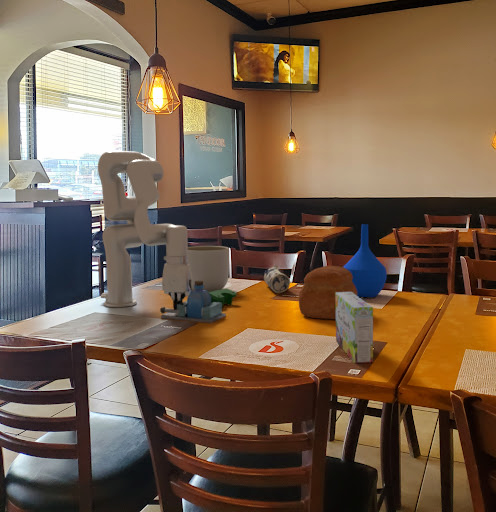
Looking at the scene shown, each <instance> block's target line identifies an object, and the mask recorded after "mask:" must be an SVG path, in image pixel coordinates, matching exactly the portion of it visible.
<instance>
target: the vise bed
mask: <svg viewBox="0 0 496 512" xmlns="http://www.w3.org/2000/svg"><path fill="white" fill-rule="evenodd" d="M222 310H223V307H222V303H219V302H213V303H211V304H208V305H206V306H204V307H202V317H192V316H188V315H187V316H177V313H167V312H165V313H162V314H161V315H160V318H161V319H167V320H175V321H176V320H177V321H189V322H196V323H197V322H198V323H208V324H209V323H210V324H213V323H214V322H216V321H218V320H219V321H220V320H221V319H223V318H225V317H226V313H225V312H223V311H222Z"/></svg>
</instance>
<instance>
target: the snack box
mask: <svg viewBox="0 0 496 512" xmlns="http://www.w3.org/2000/svg"><path fill="white" fill-rule="evenodd" d="M335 303H336V319H335V341H336V343H337V344H338V345H339V347H341V349H342V350H343V351H344V352H345V354H346V353H347V354H346V355H347V356H348V358H349V359H350V358H351V359H352V360H351V359H350V360H351V361H352V362H353V364H368V363H371V362H373V363H374V307H373V306H372V305H371V304H370V303H368V302H366V301H365V300H363V298H359V297H358V296H357V295H355V294H354V293H352V292H336V293H335Z"/></svg>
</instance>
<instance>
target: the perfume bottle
mask: <svg viewBox="0 0 496 512" xmlns="http://www.w3.org/2000/svg"><path fill="white" fill-rule="evenodd" d="M194 282H195V285H194V288H195V290H194V291H192V290H191V293H190V295H189V296H187V300H186V301H187V310H188V316H192V317H202V307H204V306H206V305H208V304H211V296H210V294H209V293H208V291H207V290H203V288H204V284H203V281H194Z"/></svg>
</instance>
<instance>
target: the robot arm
mask: <svg viewBox="0 0 496 512" xmlns="http://www.w3.org/2000/svg"><path fill="white" fill-rule="evenodd" d="M97 172H98V173H97V174H98V177H99V180H100V183H101V188H102V202H103V203H102V204H103V211H104V216H105V218H106V219H107V220H108V221H111V222H124V221H125V222H126V224H125V223H121V224H112V225H109V226H106V228H105V229H104V230H103V232H102V243H103V245H104V246H103V247H104V251H105V261H106V266H105V267H106V279H107V280H106V282H107V283H106V285H107V287H106V288H107V292H102V293H101V294H100V298H101V299H105V301H104V302H103V305H104V306H105V307H107V308H126V307H131V306H135V305H137V304H138V303H137V301H138V300H136V299H135V298H133V275H132V274H133V273H132V258H131V256H130V254H129V252H128V251H127V249H131V248H133V249H134V248H139V247H140V246H143V245H145V246H149V247H154V246H160V245H161V246H162V245H163V246H164V245H165V248H166V251H165V252H166V254H165V256H163V260H164V261H165V262H166V263H164V265H163V271H162V281H161V283H162V284H161V287H162V290H163V293H164V294H165V295H168V296H170V298H171V300H172V302H173V303H172V309H177V304H180V303H182V302H184V301H183V300H184V299H185V298H186V297H188V296H189V295H190V293H191V291H192V277H191V270H190V265H189V264H188V247H189V246H188V245H189V243H188V228H187V226H186V225H179V224H176V225H175V224H172V223H155V224H151V221H150V218H149V215H148V209H149V207H151V206H152V205H154V204H155V203H157V202H158V201H159V199H160V198H161V197H160V191H159V190H158V186H157V183H159V182H161V181H162V180H163V178H164V168H163V166H162V164H161V163H160V162H159V161H158V160H156V159H154V158H153V157H150V156H148V155H147V154H144V153H142V152H139V151H130V150H129V151H128V150H109V151H108V150H107V151H105V152H103V153H102V154H101V155H100V157H99V159H98V163H97ZM118 174H127V177H128V180H129V183H130V187H131V188H132V191H133V193H134V196H126V191H125V184H124V182H123V180H122V178H121V177H120V176H119V175H118Z"/></svg>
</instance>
